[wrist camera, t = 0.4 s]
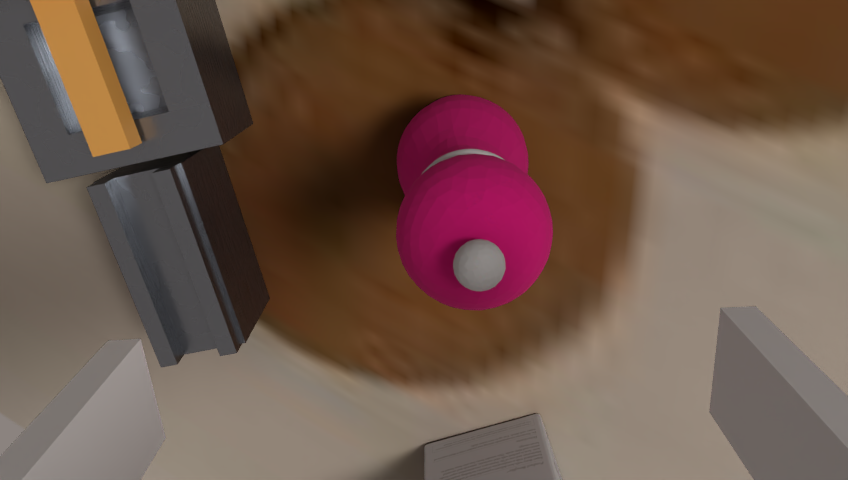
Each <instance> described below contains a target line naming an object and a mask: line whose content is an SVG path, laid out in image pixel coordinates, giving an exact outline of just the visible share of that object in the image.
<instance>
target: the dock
mask: <svg viewBox="0 0 848 480" xmlns="http://www.w3.org/2000/svg"><path fill="white" fill-rule="evenodd" d="M89 2H90V5H91V7H92V10H93V13H94V15H95V18H96V21H97V23H98V26H99V29H100V32H101V34H102V37H103V40H104V42H105V45H106V48H107V50H108V53H109V56H110V58H111V61H112V64H113V66H114V69H115V72H116V74H117V77H118V80H119V82H120V85H121V88H122V90H123V93H124V96H125V98H126V101H127V104H128V106H129V109H130V112H131V114H132V117H133V120H134V122H135V125H136V128H137V130H138V133H139V136H140V138H141V141H142V143H141V144H139V145H137V146H135V147H133V148H131V149H127V150H123V151H118V152H114V153H109V154H105V155H100V156H96V157H93V156H92V153H91V151H90V148H89V146H88V143H87V141H86V139H85V136H84V134H83V131H82V129H81V126H80V124H79V121H78V119H77V116H76V114H75V111H74V109H73V106H72V104H71V101H70V99H69V96H68V94H67V91H66V89H65V86H64V84H63V82H62V79H61V77H60V74H59V72H58V69H57V67H56V64H55V62H54V59H53V57H52V54H51V52H50V49H49V47H48V44H47V42H46V39H45V37H44V34H43V32H42V29H41V27H40V24H39V22H38V20H37V17H36V15H35V12H34V10H33V7H32V5H31V2H30V0H0V77H1V80H2V82H3V84H4V87H5V89H6V91H7V94H8V96H9V98H10V100H11V103H12V105H13V107H14V110H15V112H16V114H17V117H18V119H19V121H20V123H21V126H22V128H23V130H24V133H25V135H26V137H27V140H28V142H29V144H30V146H31V149H32V151H33V153H34V156H35V158H36V160H37V163H38V165H39V167H40V169H41V172H42V174H43V176H44V179H45V181H46V183H50V182H55V181H59V180H64V179H68V178H73V177H77V176H82V175H86V174H91V173H95V172H100V171H104V170H109V169H113V168H118V167H122V166H123V167H122V168H120V169H118V170H116V171H114V172H112V173H110V174H109V175H107V176H105V177H103V178H101V179H99V180H97V181H95V182H94V184H92V185H90V186H88V187H87V190H88V192H89V194H90V197H91V199H92V202H93V204H94V206H95V209H96V211H97V214H98V216H99V219H100V221H101V223H102V226H103V228H104V231H105V233H106V235H107V238H108V240H109V243H110V245H111V248H112V250H113V252H114V255H115V257H116V260H117V262H118V264H119V267H120V269H121V272H122V274H123V277H124V279H125V281H126V284H127V286H128V289H129V291H130V294H131V296H132V298H133V301H134V303H135V306H136V308H137V310H138V313H139V315H140V318H141V320H142V323H143V325H144V327H145V330H146V332H147V335H148V337H149V339H150V342H151V344H152V347H153V349H154V352H155V354H156V356H157V359H158V361H159V364H160V366H161V367H165V366H171V365H176V364H178V363H179V361H180V360H181V358H182V357H183V356H184V354H189V353H194V352H199V351H205V350H210V349H215V348H217V349H218V352H219V354H220V356H223V355H228V354H234V353H237V352H238V350H239V348H240V346H241V345H242V343H246V341H247V339H248V337H249V335H250V333H251V332H252V330H253V328H254V326H255V324H256V323H257V321H258V319H259V317H260V315H261V314H262V312H263V310H264V308H265V306H266V304H267V303H268V301H269V299H270V298H269V295H268V292H267V289H266V286H265V283H264V280H263V277H262V274H261V271H260V268H259V265H258V262H257V259H256V256H255V253H254V250H253V247H252V244H251V241H250V238H249V235H248V232H247V229H246V226H245V223H244V220H243V217H242V214H241V211H240V208H239V205H238V202H237V199H236V196H235V193H234V190H233V187H232V184H231V181H230V178H229V175H228V172H227V169H226V166H225V163H224V160H223V157H222V154H221V151H220V148H219V145H222V144H224V143H226V142H227V141H229V140H230V139H232V138H233V137H234V136H236V135H237V134H239V133H240V132H242V131H243V130H245V129H246V128H248V127H249V126H251V125H252V124H253V121H252V118H251V115H250V112H249V108H248V105H247V102H246V99H245V95H244V92H243V89H242V86H241V83H240V79H239V76H238V73H237V70H236V67H235V63H234V60H233V57H232V54H231V50H230V47H229V44H228V41H227V38H226V34H225V31H224V28H223V25H222V22H221V18H220V15H219V12H218V9H217V5H216V2H215V0H89Z"/></svg>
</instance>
